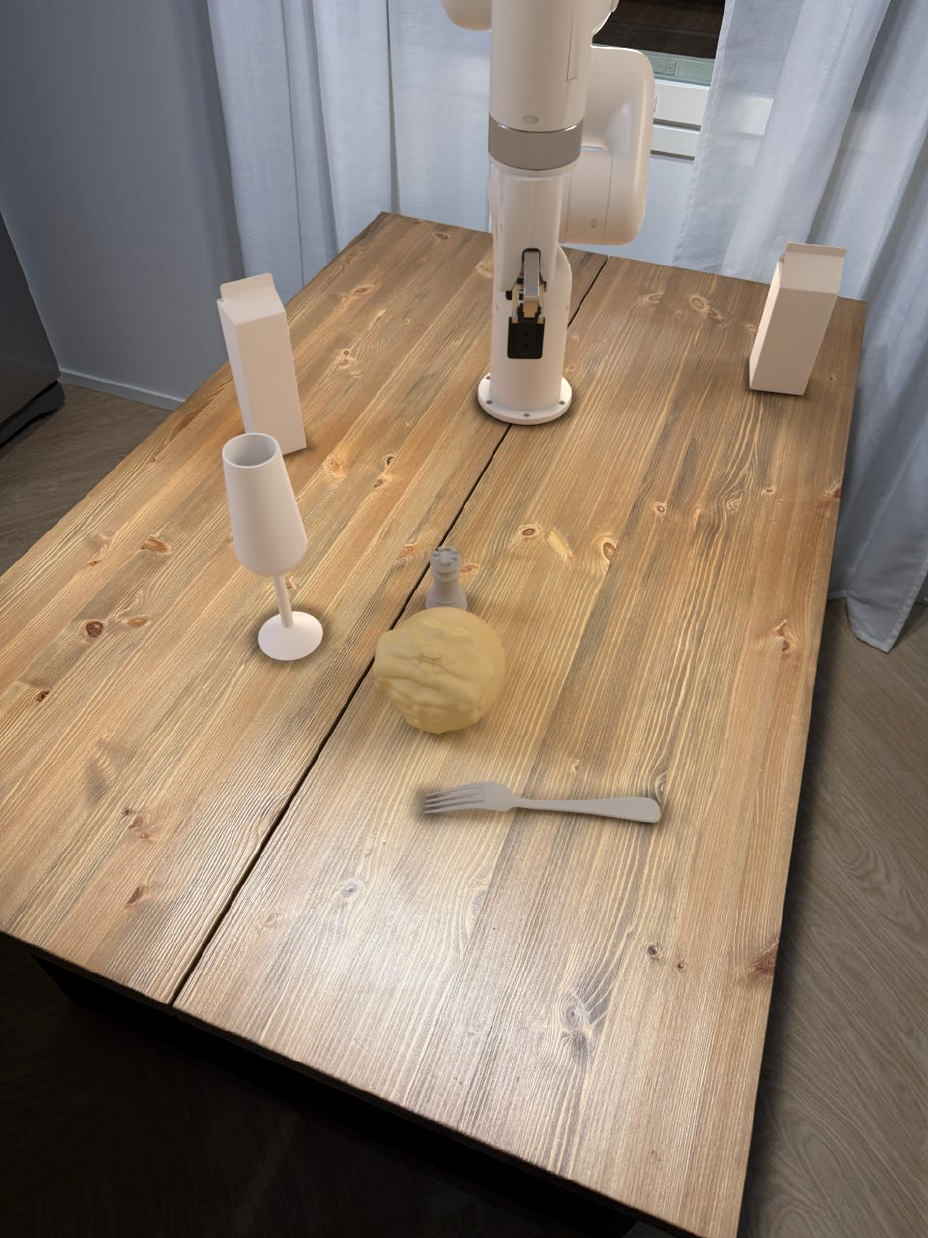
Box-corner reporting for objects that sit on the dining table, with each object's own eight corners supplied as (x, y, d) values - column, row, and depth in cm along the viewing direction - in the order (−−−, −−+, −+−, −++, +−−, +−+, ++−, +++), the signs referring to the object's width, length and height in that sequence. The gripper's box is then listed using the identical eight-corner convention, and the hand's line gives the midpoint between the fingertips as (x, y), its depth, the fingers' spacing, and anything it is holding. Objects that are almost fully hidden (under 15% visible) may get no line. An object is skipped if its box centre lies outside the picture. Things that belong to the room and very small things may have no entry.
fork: (654, 839, 80) (663, 824, 78) (423, 818, 78) (426, 803, 76) (650, 811, 82) (659, 796, 80) (425, 790, 80) (428, 774, 78)
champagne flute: (270, 669, 89) (223, 485, 71) (248, 624, 93) (199, 438, 75) (332, 646, 91) (303, 461, 73) (309, 603, 95) (275, 417, 77)
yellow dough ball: (363, 728, 85) (353, 658, 77) (415, 639, 92) (411, 565, 84) (475, 768, 82) (477, 699, 74) (519, 673, 89) (526, 600, 81)
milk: (307, 448, 112) (283, 284, 96) (261, 462, 110) (229, 298, 94) (288, 422, 116) (262, 259, 99) (244, 435, 114) (210, 272, 97)
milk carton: (802, 396, 121) (849, 262, 106) (749, 390, 121) (788, 255, 107) (800, 367, 125) (845, 234, 111) (748, 361, 126) (786, 228, 112)
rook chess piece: (474, 600, 96) (475, 546, 90) (456, 628, 93) (456, 575, 87) (436, 587, 97) (435, 533, 91) (418, 615, 94) (415, 561, 88)
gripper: (487, 93, 77) (483, 278, 90) (488, 187, 66) (483, 381, 79) (575, 94, 77) (557, 279, 90) (590, 188, 66) (567, 382, 79)
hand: (522, 326), depth 84 cm, fingers open, 9 cm apart
